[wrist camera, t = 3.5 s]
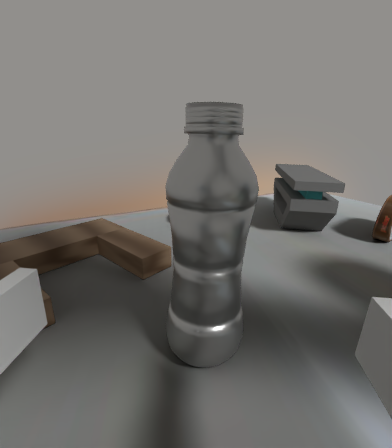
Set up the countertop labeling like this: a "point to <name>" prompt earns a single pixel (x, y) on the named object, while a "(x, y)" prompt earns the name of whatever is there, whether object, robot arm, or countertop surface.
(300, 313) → the countertop surface
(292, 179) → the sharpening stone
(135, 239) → the notched board
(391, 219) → the tin
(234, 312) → the plastic bottle
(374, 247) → the countertop surface
